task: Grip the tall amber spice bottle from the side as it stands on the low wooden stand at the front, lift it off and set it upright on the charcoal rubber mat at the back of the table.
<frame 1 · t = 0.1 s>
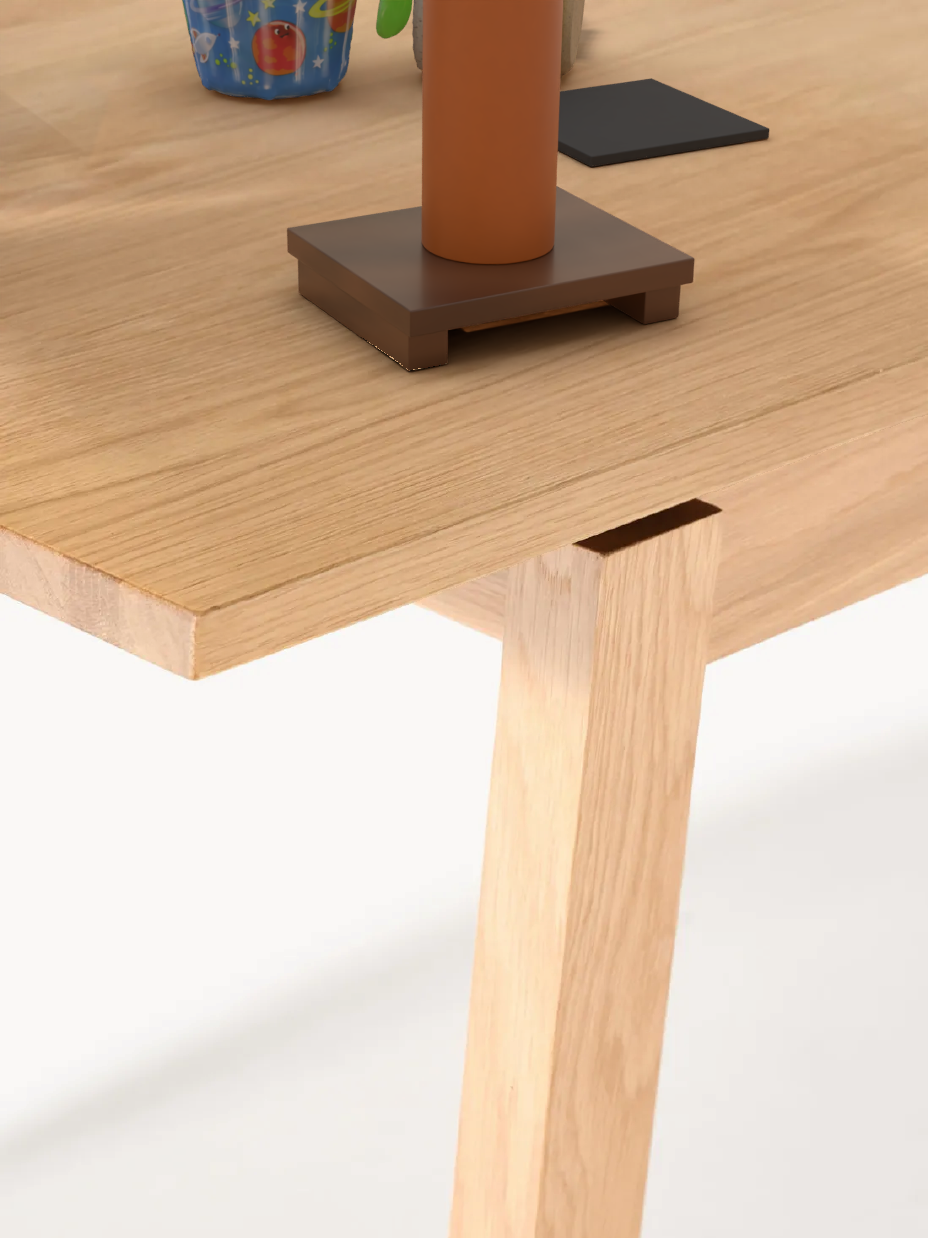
snack cup: (272, 88, 110), on the table
low wooden stand: (486, 305, 83), on the table
mat: (622, 125, 105), on the table
spice bottle: (487, 242, 82), point 2 cm above the table, touching low wooden stand
ceramic mug: (496, 70, 114), on the table
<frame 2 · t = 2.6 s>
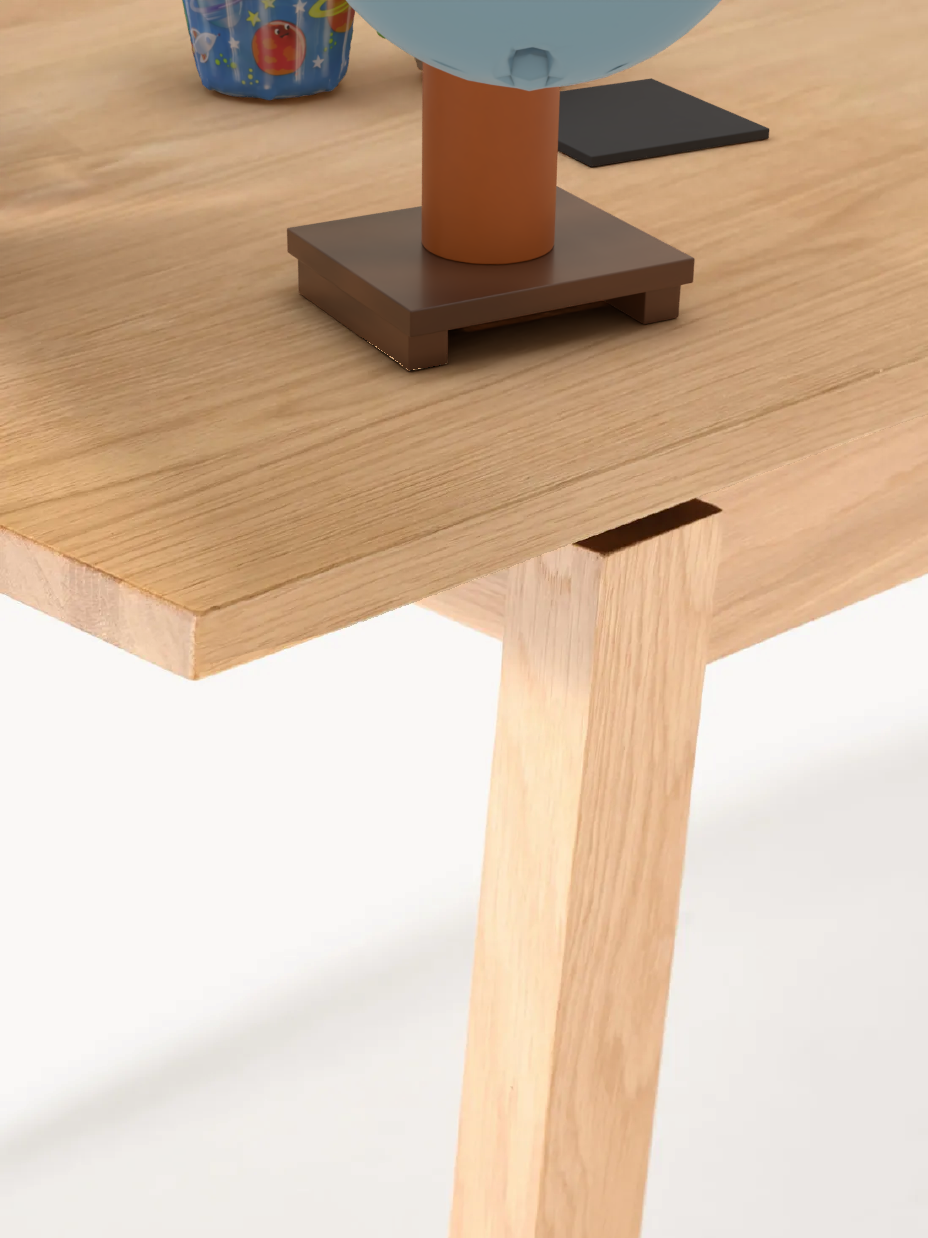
nothing on the table moved.
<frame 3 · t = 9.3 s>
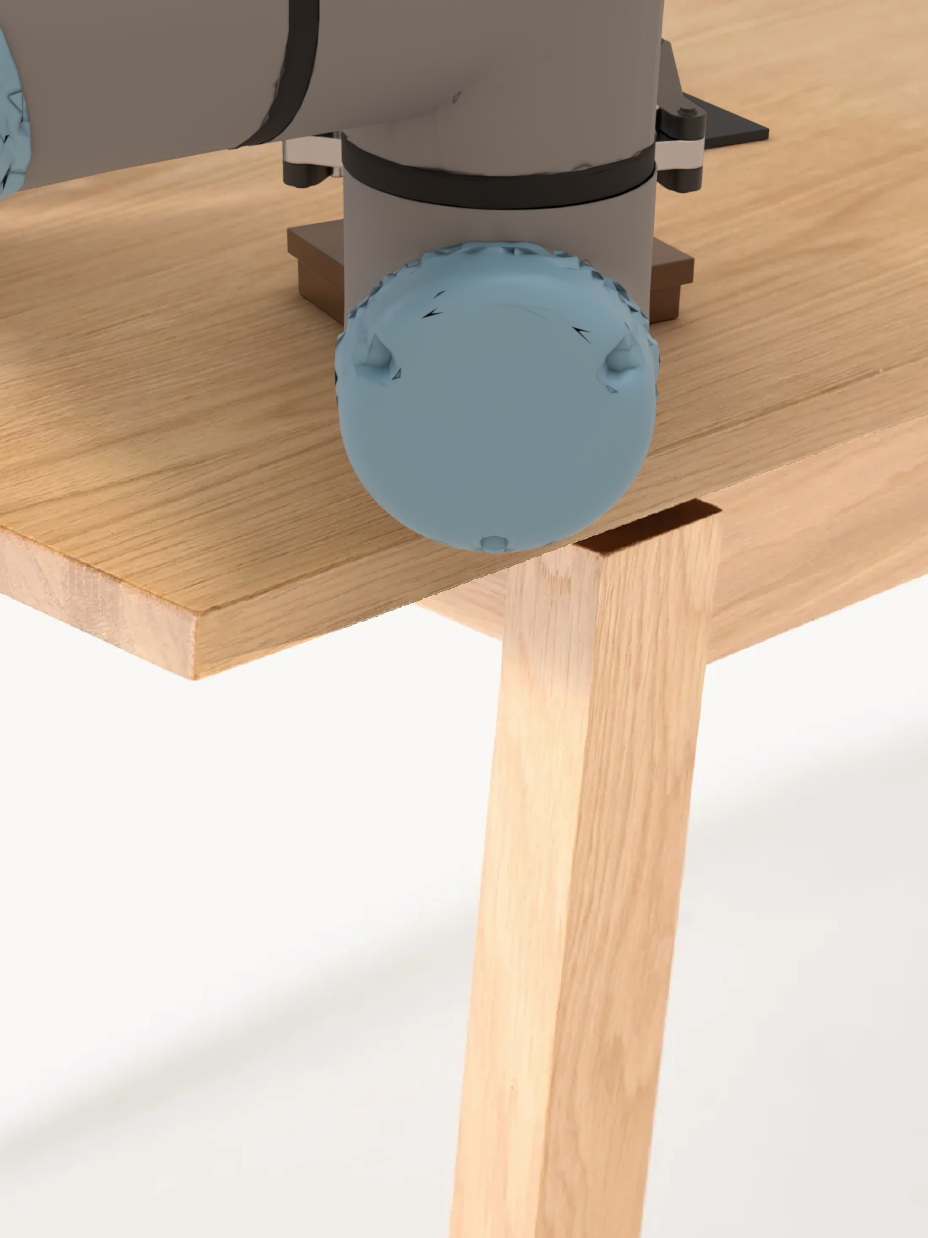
hand: (491, 20, 83), 10 cm above the table, tool horizontal, fingers closed on spice bottle, 5 cm apart
spice bottle: (487, 242, 82), point 3 cm above the table, touching gripper, low wooden stand
everything else where it was.
when the fingers open (7 cm above the table, at t = 20.7 s): spice bottle stays where it is, resting on mat.
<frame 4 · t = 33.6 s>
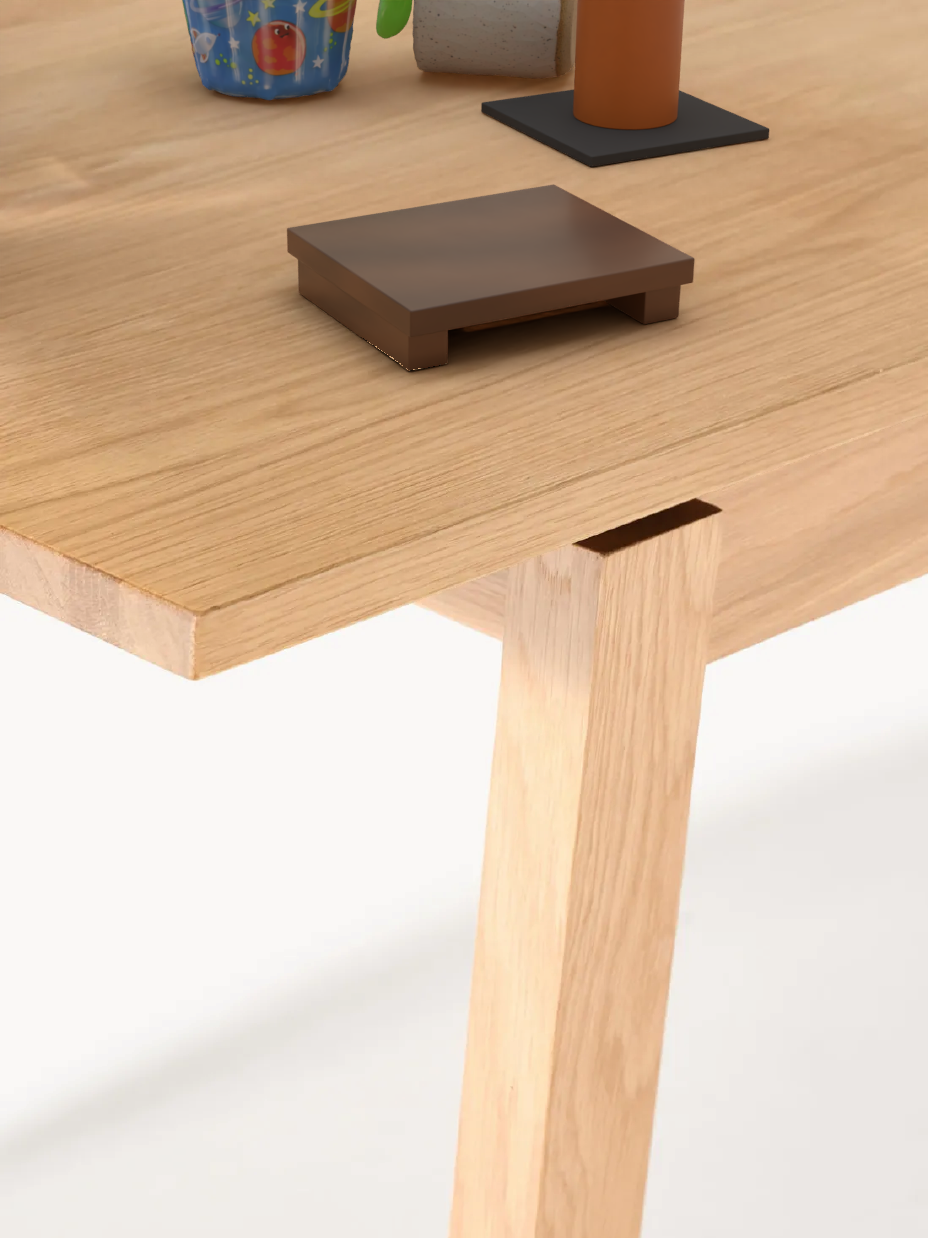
spice bottle: (625, 115, 104), resting on mat
everything else where it was.
at the end: spice bottle inside the target area on the mat (0.1 cm from its centre), point 0.5 cm above the mat's base; spice bottle tilted 0°; the gripper is holding nothing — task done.
